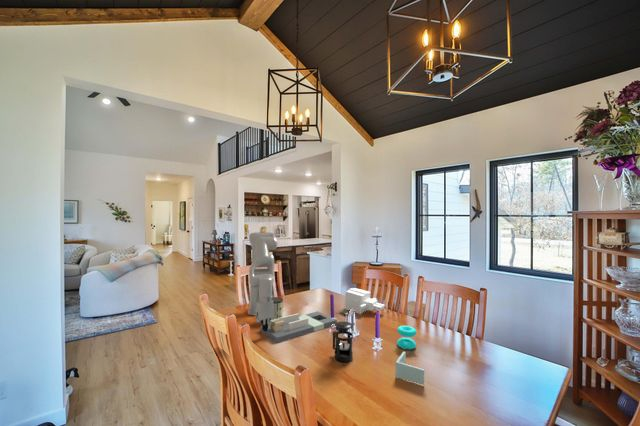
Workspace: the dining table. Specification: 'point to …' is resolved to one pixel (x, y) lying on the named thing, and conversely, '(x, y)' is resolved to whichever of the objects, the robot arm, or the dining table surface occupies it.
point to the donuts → (406, 332)
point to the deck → (299, 326)
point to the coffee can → (277, 307)
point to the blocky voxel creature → (361, 301)
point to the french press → (343, 346)
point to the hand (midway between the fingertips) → (265, 330)
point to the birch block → (277, 325)
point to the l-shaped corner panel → (408, 370)
